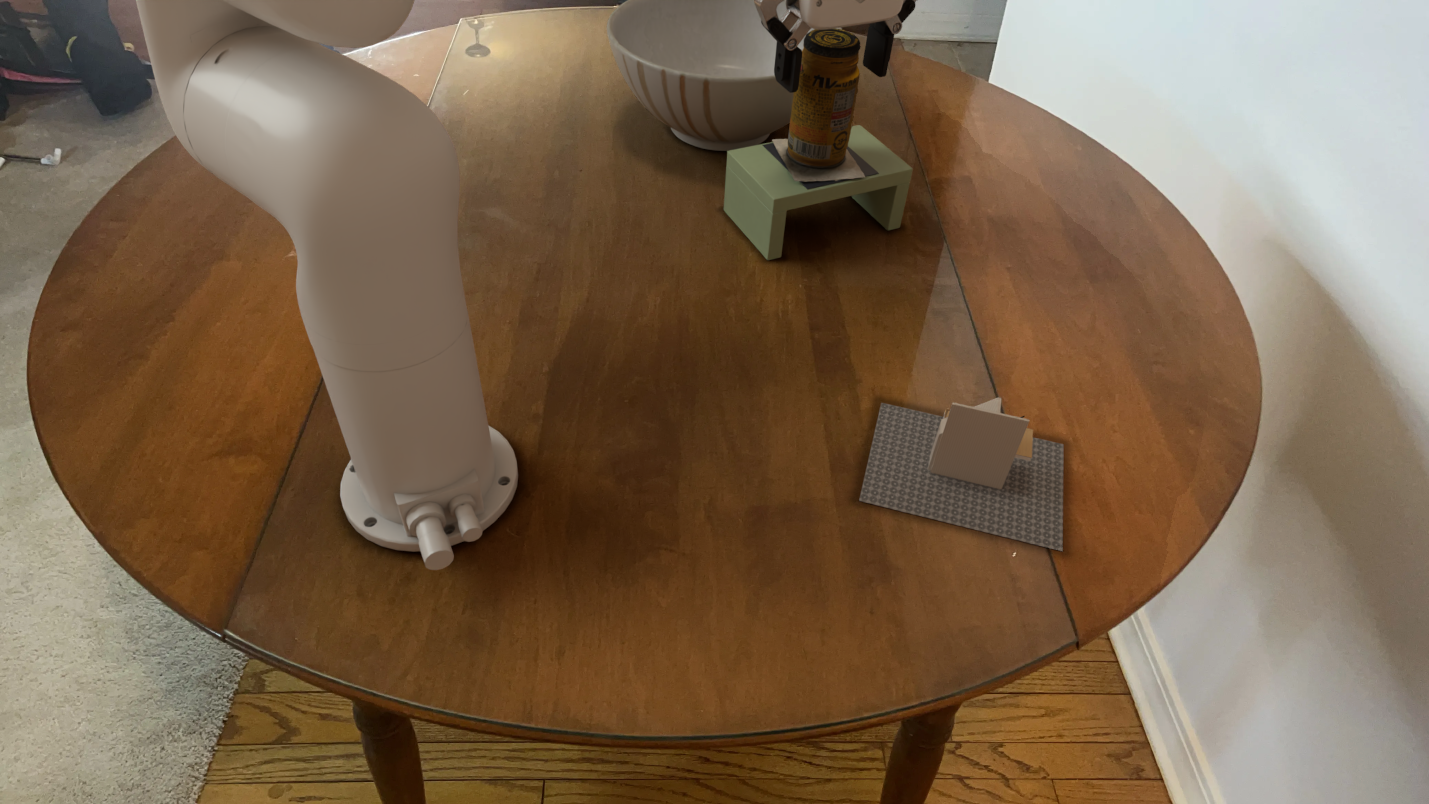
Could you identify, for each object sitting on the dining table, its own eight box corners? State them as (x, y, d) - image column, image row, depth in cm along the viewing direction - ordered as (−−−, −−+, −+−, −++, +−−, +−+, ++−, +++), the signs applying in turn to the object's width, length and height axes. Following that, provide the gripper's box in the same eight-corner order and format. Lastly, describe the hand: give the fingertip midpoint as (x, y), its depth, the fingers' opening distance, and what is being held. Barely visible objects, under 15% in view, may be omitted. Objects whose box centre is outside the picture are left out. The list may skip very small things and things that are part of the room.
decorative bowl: (630, 193, 98) (628, 86, 89) (595, 84, 116) (590, -13, 108) (861, 173, 103) (880, 71, 95) (792, 73, 122) (803, -21, 113)
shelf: (900, 227, 95) (913, 167, 91) (767, 260, 90) (774, 198, 85) (850, 182, 102) (860, 123, 97) (723, 210, 96) (727, 149, 91)
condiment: (838, 137, 94) (856, 21, 86) (865, 178, 88) (887, 58, 80) (771, 141, 93) (782, 24, 85) (794, 184, 87) (809, 62, 79)
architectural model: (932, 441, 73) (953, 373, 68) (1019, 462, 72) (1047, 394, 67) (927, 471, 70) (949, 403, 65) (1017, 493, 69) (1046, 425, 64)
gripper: (790, -104, 68) (769, 110, 80) (973, -120, 74) (928, 81, 86) (744, -130, 73) (731, 76, 85) (920, -143, 79) (885, 50, 91)
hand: (830, 78), depth 85 cm, fingers open, 9 cm apart
